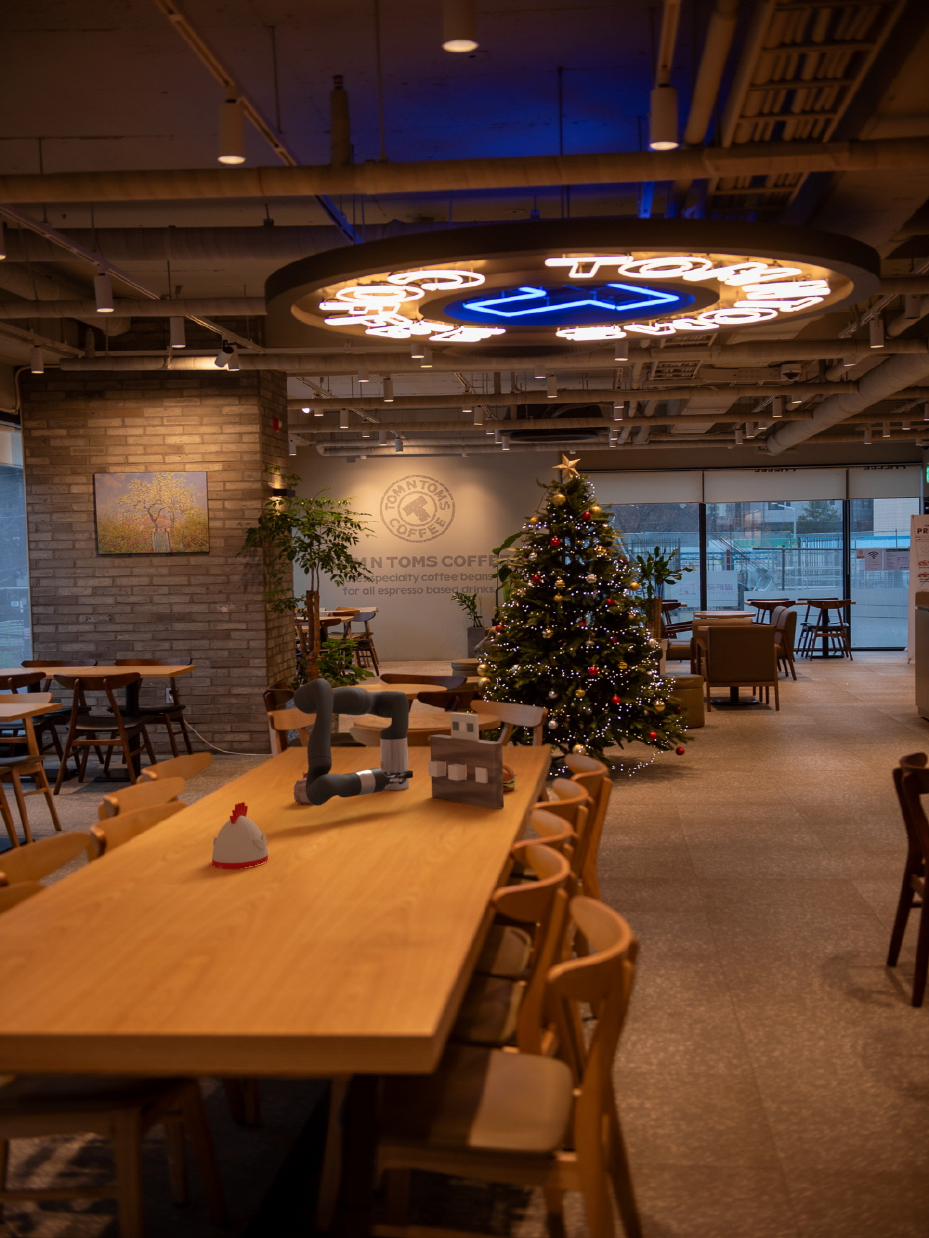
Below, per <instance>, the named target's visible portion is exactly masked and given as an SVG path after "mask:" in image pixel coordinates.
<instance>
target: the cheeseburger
mask: <svg viewBox="0 0 929 1238" xmlns="http://www.w3.org/2000/svg"><path fill="white" fill-rule="evenodd" d="M516 777H517V774H515V773H514V770H513V768H512V767H511V765H510V764H508V763H506V762H503V792H509V791H513V790H514V789H515V787H516V781H517V778H516Z"/></svg>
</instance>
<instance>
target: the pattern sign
mask: <svg viewBox="0 0 929 1238" xmlns="http://www.w3.org/2000/svg"><path fill="white" fill-rule="evenodd" d="M479 723H480V721H479V714H471V713H463V712H462V713H460V712H450V736H451V738H457V739H465V740H473V741H479V740H480V733H479V732H480V728H479V727H480V726H479Z"/></svg>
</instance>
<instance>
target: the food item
mask: <svg viewBox="0 0 929 1238" xmlns="http://www.w3.org/2000/svg"><path fill="white" fill-rule="evenodd" d="M307 773H308V772H304V771H302V778H301V779H298V780H296V781H295V784H294V786H293V797H294V798H293V799H294V801H295V803H297V804H298V805H304V806H305V805H307V806H312V805H313V804H312V803H310V802H309V800H308V798H307V796H306V779H307ZM313 806H314V805H313Z"/></svg>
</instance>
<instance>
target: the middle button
mask: <svg viewBox="0 0 929 1238" xmlns="http://www.w3.org/2000/svg"><path fill="white" fill-rule="evenodd" d="M466 777H467V776H466V764H465V765H462V764H452V765H448V779H451V780H457V781H458V780H464V779H466Z"/></svg>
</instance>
